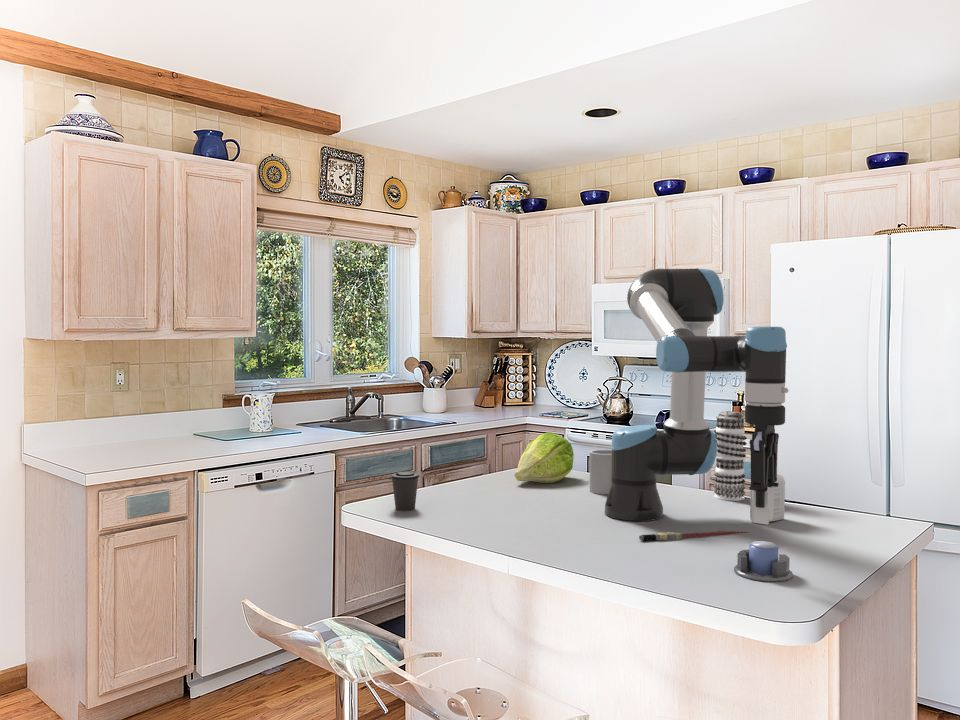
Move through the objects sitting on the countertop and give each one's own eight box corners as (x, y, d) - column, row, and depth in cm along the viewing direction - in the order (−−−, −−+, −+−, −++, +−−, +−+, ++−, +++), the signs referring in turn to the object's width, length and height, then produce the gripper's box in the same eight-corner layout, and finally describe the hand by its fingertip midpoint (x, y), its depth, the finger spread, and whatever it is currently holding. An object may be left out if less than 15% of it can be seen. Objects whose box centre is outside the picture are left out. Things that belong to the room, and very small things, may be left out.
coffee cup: (385, 510, 208) (384, 473, 208) (399, 504, 216) (398, 468, 216) (411, 512, 205) (411, 475, 205) (425, 506, 213) (424, 470, 213)
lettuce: (541, 501, 237) (505, 497, 248) (588, 467, 253) (552, 465, 265) (528, 456, 234) (492, 455, 245) (577, 425, 250) (541, 425, 262)
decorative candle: (706, 495, 226) (706, 411, 225) (730, 493, 230) (731, 410, 229) (727, 502, 218) (728, 414, 217) (752, 499, 221) (753, 412, 220)
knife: (632, 539, 181) (642, 542, 176) (632, 531, 181) (642, 534, 176) (738, 533, 189) (750, 536, 184) (738, 526, 189) (750, 529, 184)
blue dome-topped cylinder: (745, 572, 153) (746, 545, 153) (752, 565, 157) (753, 538, 157) (774, 576, 150) (774, 549, 149) (780, 569, 154) (781, 543, 154)
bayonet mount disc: (727, 575, 152) (727, 558, 152) (742, 561, 161) (742, 545, 161) (785, 585, 146) (785, 567, 146) (798, 570, 155) (798, 553, 155)
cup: (622, 494, 228) (622, 454, 228) (591, 494, 228) (591, 454, 228) (617, 488, 237) (617, 449, 237) (587, 488, 237) (587, 449, 237)
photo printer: (772, 516, 201) (773, 469, 201) (787, 519, 197) (787, 471, 197) (747, 521, 195) (747, 473, 195) (761, 525, 192) (762, 476, 191)
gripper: (774, 408, 143) (773, 532, 144) (794, 401, 157) (792, 515, 158) (734, 406, 148) (732, 527, 148) (756, 400, 161) (755, 510, 162)
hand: (763, 520), depth 153 cm, fingers open, 3 cm apart
